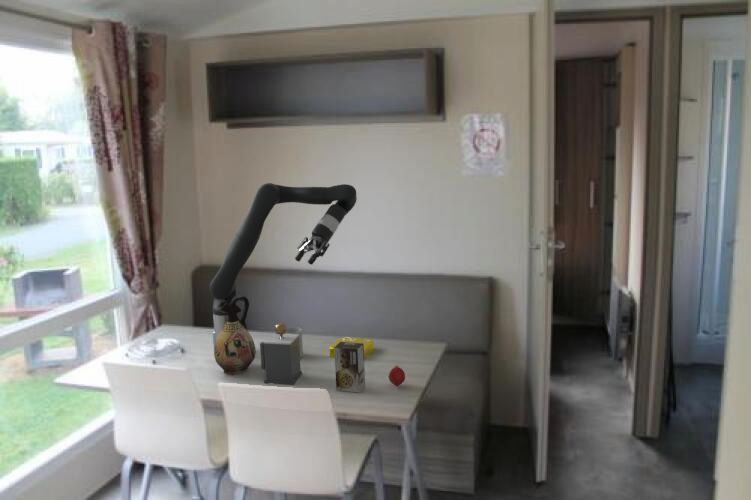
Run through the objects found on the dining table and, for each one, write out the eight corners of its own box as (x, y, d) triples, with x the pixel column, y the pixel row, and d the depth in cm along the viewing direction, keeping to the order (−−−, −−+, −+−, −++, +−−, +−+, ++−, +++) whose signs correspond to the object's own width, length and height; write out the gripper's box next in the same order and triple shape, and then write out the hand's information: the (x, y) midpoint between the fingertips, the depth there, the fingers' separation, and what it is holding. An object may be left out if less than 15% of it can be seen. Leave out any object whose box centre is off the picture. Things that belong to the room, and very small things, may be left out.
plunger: (270, 376, 240) (267, 327, 236) (277, 369, 247) (274, 321, 244) (289, 377, 238) (287, 328, 235) (296, 370, 246) (293, 322, 242)
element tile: (328, 358, 265) (327, 346, 264) (342, 346, 278) (341, 335, 277) (362, 361, 259) (362, 350, 259) (375, 349, 273) (375, 338, 272)
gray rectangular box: (257, 382, 240) (255, 342, 237) (268, 371, 250) (265, 332, 247) (293, 384, 237) (290, 343, 234) (302, 373, 247) (300, 333, 245)
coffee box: (365, 386, 234) (364, 343, 231) (359, 393, 228) (358, 349, 225) (342, 383, 237) (340, 341, 234) (335, 390, 231) (333, 346, 228)
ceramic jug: (221, 381, 241) (215, 303, 236) (211, 368, 255) (205, 294, 249) (266, 372, 249) (261, 296, 244) (253, 360, 263) (249, 288, 257)
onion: (388, 383, 235) (387, 362, 234) (404, 382, 236) (403, 361, 234) (390, 390, 230) (389, 368, 228) (406, 389, 230) (405, 367, 229)
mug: (307, 354, 268) (306, 328, 266) (295, 361, 261) (294, 334, 259) (283, 350, 274) (282, 325, 272) (271, 356, 267) (269, 330, 265)
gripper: (309, 221, 259) (286, 253, 254) (331, 224, 249) (308, 258, 244) (320, 232, 264) (298, 265, 259) (342, 236, 253) (320, 270, 248)
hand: (303, 261), depth 251 cm, fingers open, 8 cm apart
